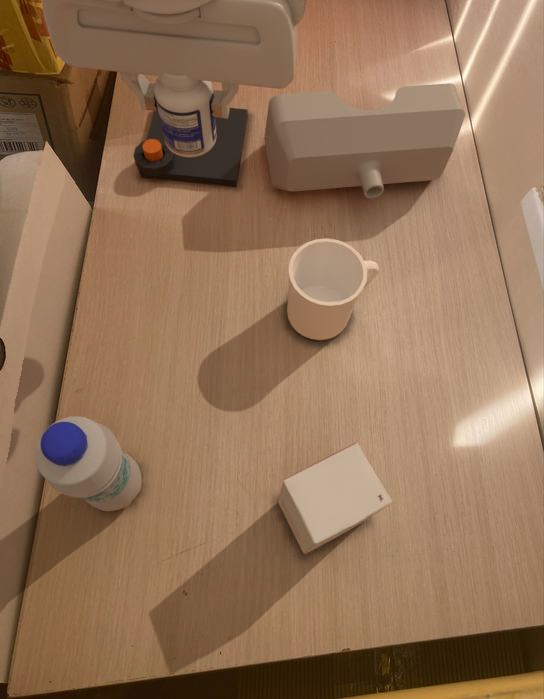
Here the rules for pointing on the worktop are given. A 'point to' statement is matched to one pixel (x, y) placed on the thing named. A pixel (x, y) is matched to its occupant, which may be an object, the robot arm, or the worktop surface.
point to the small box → (331, 497)
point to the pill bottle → (185, 114)
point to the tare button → (152, 150)
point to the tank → (361, 139)
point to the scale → (206, 168)
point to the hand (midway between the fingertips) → (185, 109)
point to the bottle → (87, 463)
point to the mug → (325, 287)
